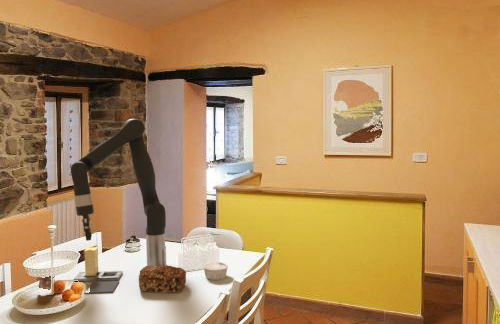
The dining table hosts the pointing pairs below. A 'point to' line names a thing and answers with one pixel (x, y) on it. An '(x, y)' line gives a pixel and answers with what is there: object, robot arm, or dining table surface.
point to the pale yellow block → (91, 262)
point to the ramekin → (215, 271)
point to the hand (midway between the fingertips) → (89, 238)
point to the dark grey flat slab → (100, 276)
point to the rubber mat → (103, 287)
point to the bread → (162, 279)
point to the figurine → (45, 283)
